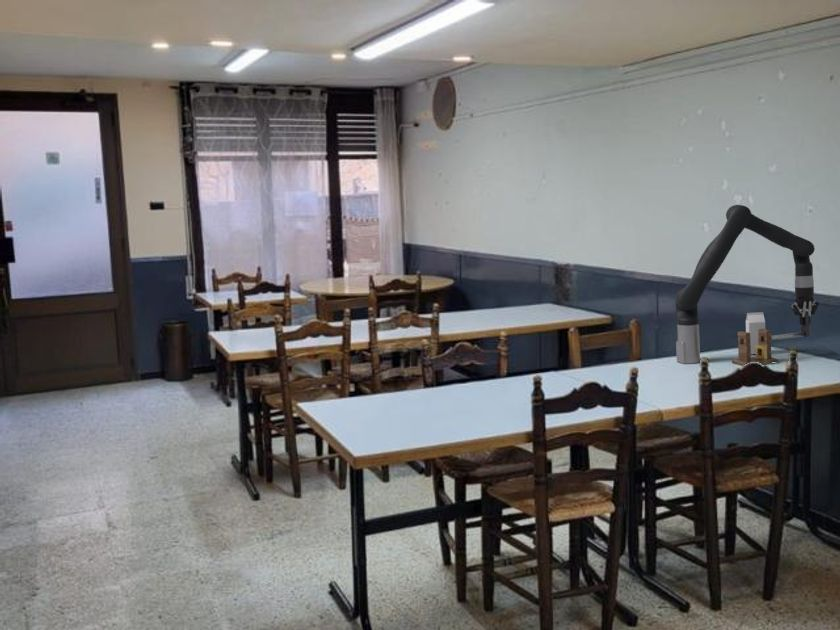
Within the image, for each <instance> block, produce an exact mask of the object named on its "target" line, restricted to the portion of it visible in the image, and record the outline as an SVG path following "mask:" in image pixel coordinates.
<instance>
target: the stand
mask: <svg viewBox="0 0 840 630" xmlns="http://www.w3.org/2000/svg"><path fill="white" fill-rule="evenodd" d="M771 330H772V329H771ZM771 330H770V329H766V328H765V329H758V343H759V344H761V345H765V346H767V360H763V359H759V358H756V356H752V355H751V345H750V333H748V332H746V331H742V330H741V331H737V346H738V347H737V349H738V350H737V352H738V353H737V354H738V355H737V356H738V358H737V359H736V358H734V359H731V364H734V365H738V366H741V367H744V366H743V365H745V364H747V363H750V362H759V363H761V364H763V365H769V364H768V363H771V364H773V363H772V362H779V360H780V359H779V358H775V357H772V340H771V336H772V332H771ZM761 355H762V349H761ZM779 363H780V362H779Z"/></svg>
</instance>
